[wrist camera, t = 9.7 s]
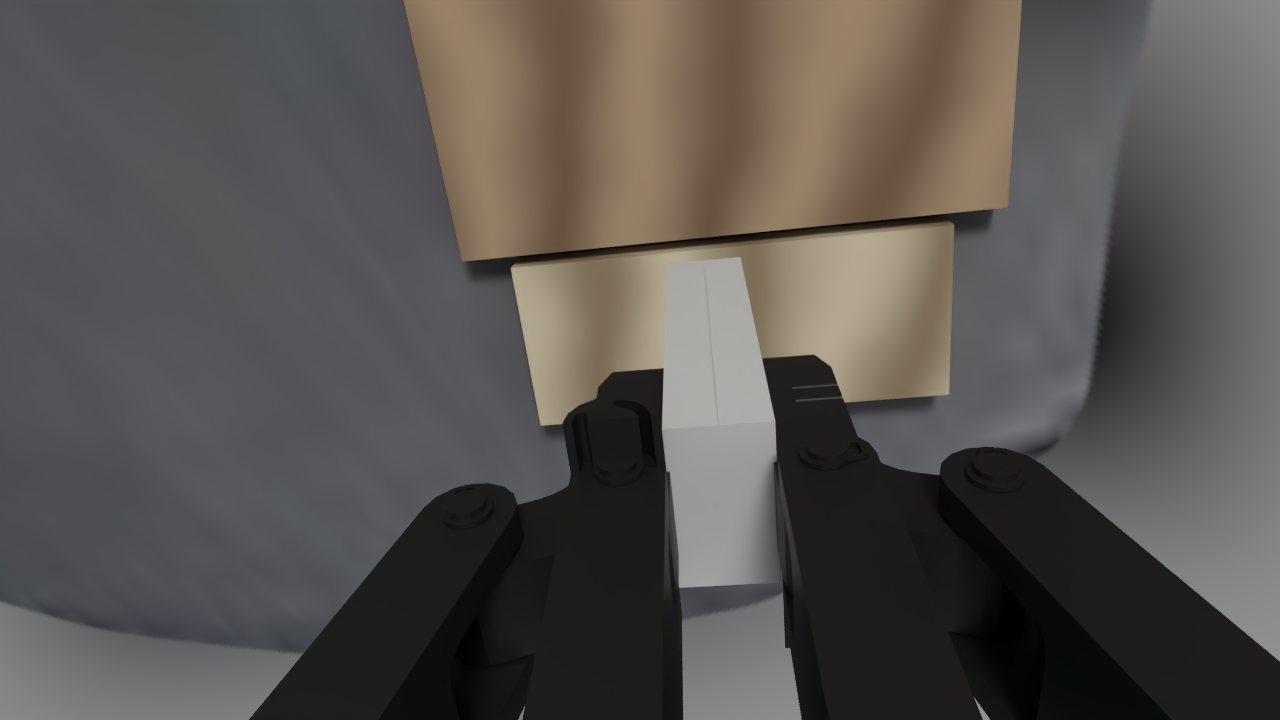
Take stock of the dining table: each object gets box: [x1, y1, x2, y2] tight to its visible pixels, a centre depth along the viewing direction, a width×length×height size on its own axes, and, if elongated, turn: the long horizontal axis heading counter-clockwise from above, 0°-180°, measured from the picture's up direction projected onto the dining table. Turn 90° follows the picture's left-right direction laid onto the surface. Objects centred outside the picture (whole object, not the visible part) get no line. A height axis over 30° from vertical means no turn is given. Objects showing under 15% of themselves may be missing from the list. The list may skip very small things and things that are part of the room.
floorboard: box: [404, 0, 1022, 262], centre depth 31 cm, size 22×12×2 cm, turn 97°
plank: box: [511, 216, 954, 426], centre depth 36 cm, size 18×8×2 cm, turn 97°
